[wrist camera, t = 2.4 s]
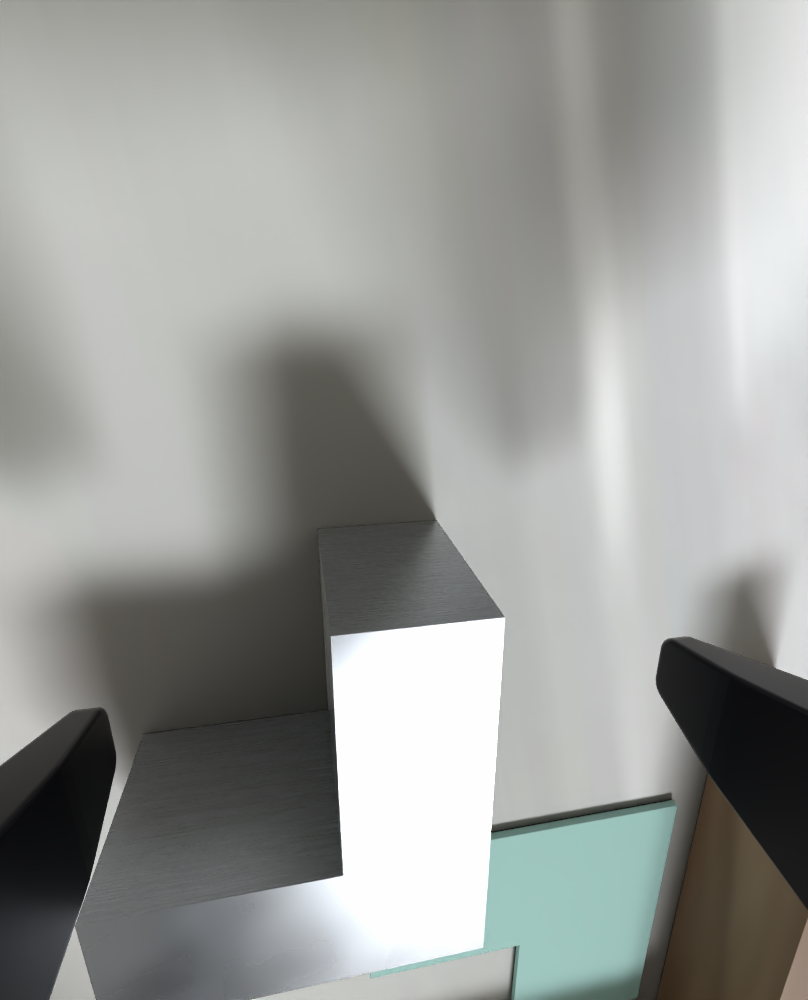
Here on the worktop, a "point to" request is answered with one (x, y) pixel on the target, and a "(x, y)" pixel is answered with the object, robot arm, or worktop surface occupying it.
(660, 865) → the mat
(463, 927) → the bracket
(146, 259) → the worktop surface
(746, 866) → the corner wall
